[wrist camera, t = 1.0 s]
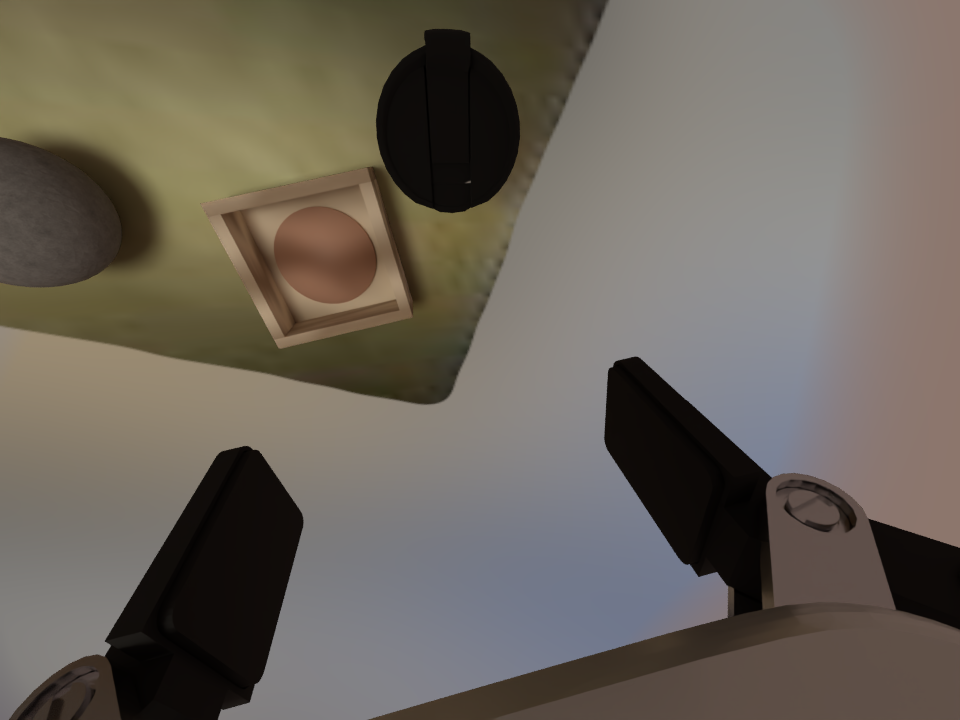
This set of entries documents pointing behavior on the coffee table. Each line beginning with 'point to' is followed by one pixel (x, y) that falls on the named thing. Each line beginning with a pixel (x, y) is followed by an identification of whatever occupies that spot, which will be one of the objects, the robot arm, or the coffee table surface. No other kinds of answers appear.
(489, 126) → the travel mug
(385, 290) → the open box
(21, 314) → the coffee table surface
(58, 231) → the decorative ball
